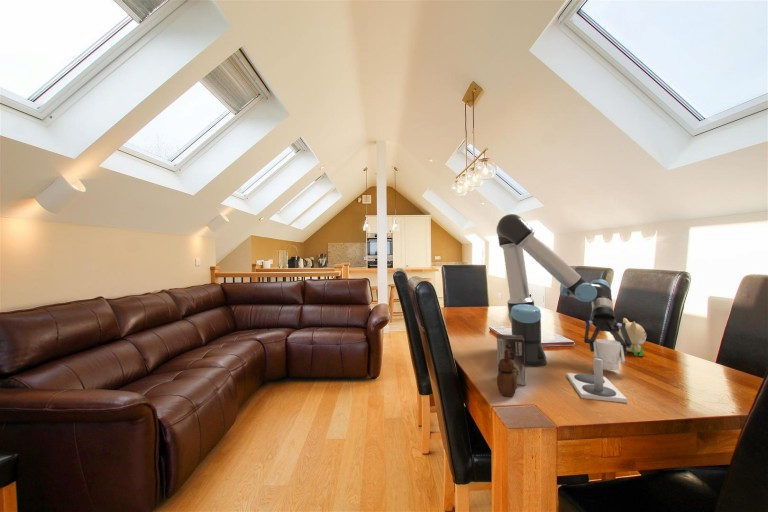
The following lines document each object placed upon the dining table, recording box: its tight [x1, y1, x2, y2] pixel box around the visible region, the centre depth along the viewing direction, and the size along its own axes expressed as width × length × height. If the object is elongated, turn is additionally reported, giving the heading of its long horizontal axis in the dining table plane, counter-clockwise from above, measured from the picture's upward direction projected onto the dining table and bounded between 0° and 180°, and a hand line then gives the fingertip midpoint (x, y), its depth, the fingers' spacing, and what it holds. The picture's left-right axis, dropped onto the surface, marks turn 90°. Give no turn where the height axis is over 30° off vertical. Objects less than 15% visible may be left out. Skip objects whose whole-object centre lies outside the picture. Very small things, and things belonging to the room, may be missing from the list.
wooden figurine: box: [496, 350, 518, 397], centre depth 101 cm, size 7×6×15 cm
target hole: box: [574, 373, 605, 384], centre depth 109 cm, size 9×9×1 cm
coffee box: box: [496, 333, 527, 386], centre depth 112 cm, size 9×6×16 cm
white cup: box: [595, 338, 621, 371], centre depth 120 cm, size 8×8×10 cm
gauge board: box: [566, 357, 628, 404], centre depth 105 cm, size 12×19×11 cm, turn 162°
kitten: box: [614, 317, 648, 357], centre depth 144 cm, size 15×10×15 cm, turn 164°
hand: (609, 360), depth 117 cm, fingers closed on white cup, 8 cm apart
